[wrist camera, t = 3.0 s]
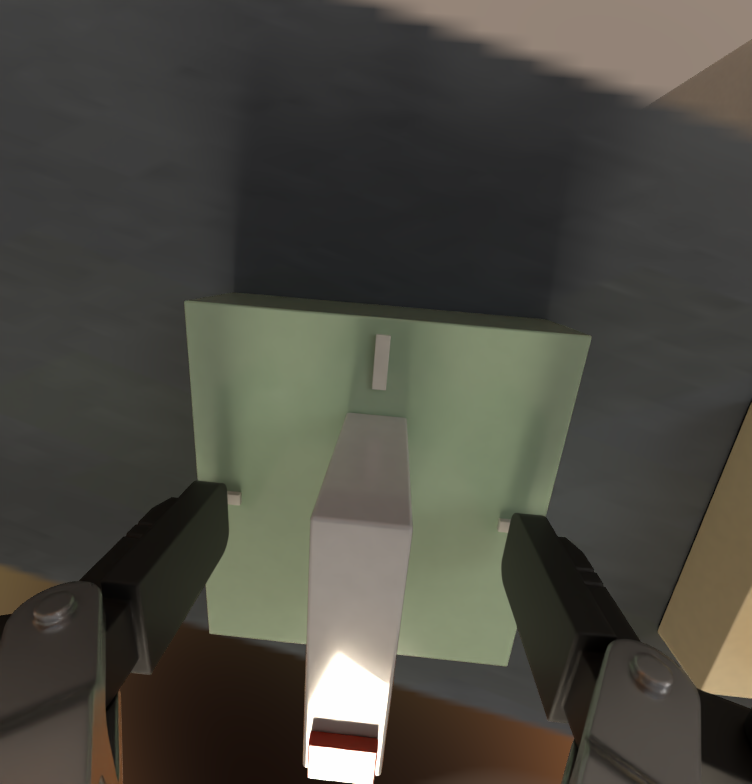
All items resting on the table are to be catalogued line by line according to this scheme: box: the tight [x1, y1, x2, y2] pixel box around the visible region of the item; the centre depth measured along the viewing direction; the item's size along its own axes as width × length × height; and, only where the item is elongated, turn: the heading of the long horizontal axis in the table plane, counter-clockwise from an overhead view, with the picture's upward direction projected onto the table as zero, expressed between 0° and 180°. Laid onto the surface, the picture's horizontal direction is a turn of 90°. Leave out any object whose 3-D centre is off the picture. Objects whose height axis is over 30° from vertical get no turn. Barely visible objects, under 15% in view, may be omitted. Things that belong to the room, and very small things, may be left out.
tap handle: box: [303, 413, 413, 784], centre depth 9 cm, size 6×2×5 cm, turn 176°
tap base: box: [184, 292, 591, 666], centre depth 12 cm, size 11×10×3 cm
